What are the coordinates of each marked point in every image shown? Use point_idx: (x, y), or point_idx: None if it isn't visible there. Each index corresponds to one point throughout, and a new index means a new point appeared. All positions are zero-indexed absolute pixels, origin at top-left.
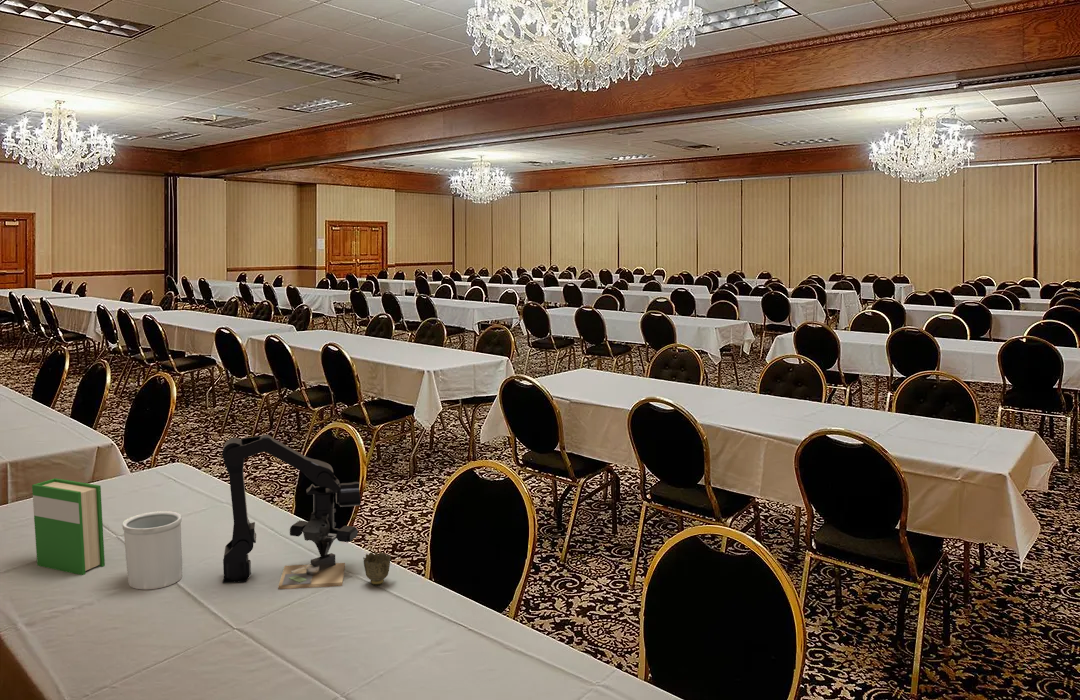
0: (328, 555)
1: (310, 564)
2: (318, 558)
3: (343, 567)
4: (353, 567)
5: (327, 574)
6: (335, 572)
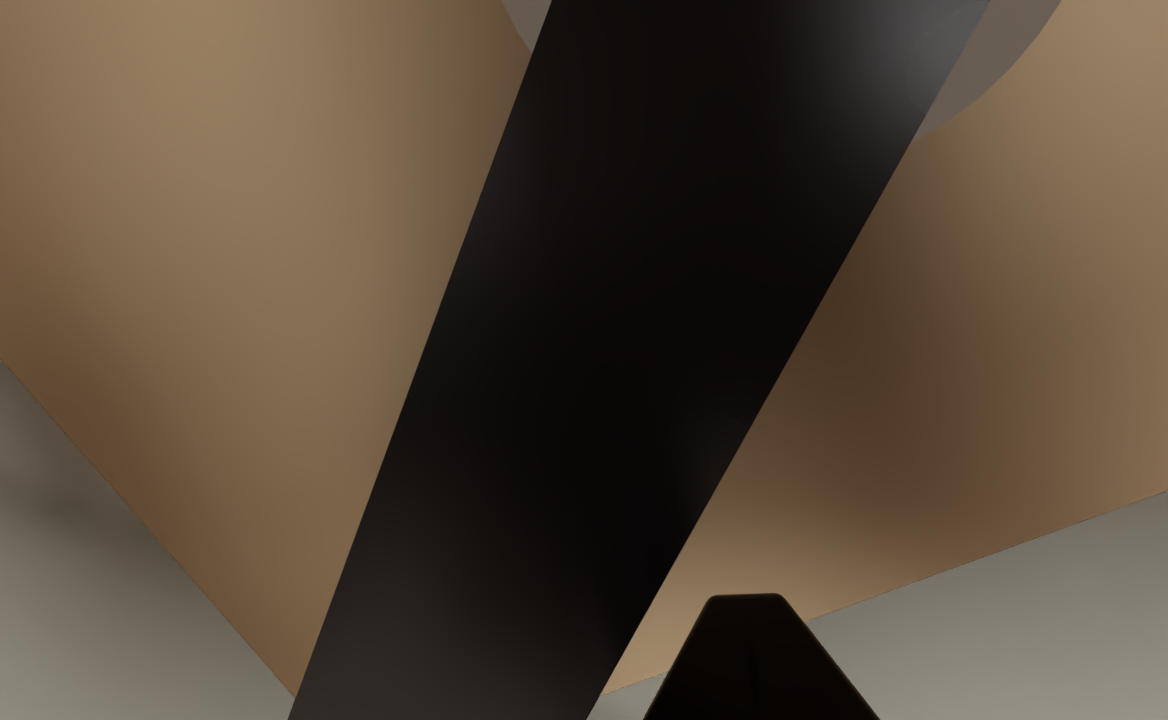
0: (447, 712)
1: (991, 13)
2: (667, 297)
3: (211, 573)
4: (186, 709)
5: (255, 10)
6: (152, 237)
